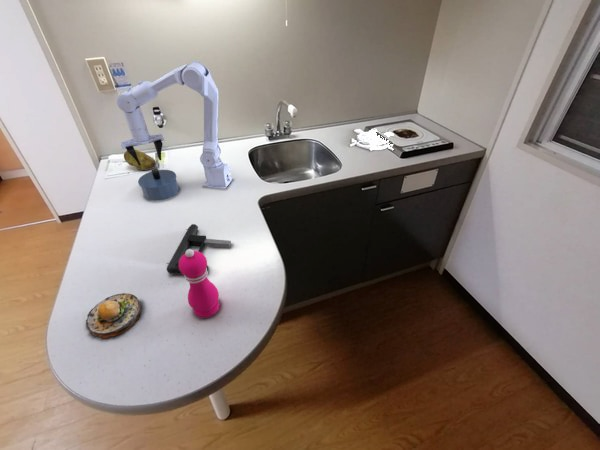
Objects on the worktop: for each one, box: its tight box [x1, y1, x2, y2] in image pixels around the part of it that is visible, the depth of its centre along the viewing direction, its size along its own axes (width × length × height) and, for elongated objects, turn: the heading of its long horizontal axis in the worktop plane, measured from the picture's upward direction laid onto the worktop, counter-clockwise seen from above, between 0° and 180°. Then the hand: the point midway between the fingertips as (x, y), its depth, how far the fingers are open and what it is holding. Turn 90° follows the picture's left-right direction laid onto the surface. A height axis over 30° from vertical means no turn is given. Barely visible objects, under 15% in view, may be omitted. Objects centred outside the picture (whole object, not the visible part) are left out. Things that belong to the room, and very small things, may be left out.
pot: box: [140, 178, 180, 202], centre depth 118 cm, size 13×13×6 cm
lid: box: [137, 168, 177, 189], centre depth 115 cm, size 14×14×5 cm
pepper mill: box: [179, 248, 220, 319], centre depth 71 cm, size 7×7×20 cm
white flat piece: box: [349, 128, 395, 152], centre depth 159 cm, size 21×28×1 cm
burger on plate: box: [85, 292, 143, 339], centre depth 73 cm, size 12×12×8 cm
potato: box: [123, 149, 157, 171], centre depth 134 cm, size 8×13×8 cm, turn 60°
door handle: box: [166, 223, 232, 275], centre depth 93 cm, size 3×20×16 cm
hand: (149, 161), depth 118 cm, fingers open, 7 cm apart
